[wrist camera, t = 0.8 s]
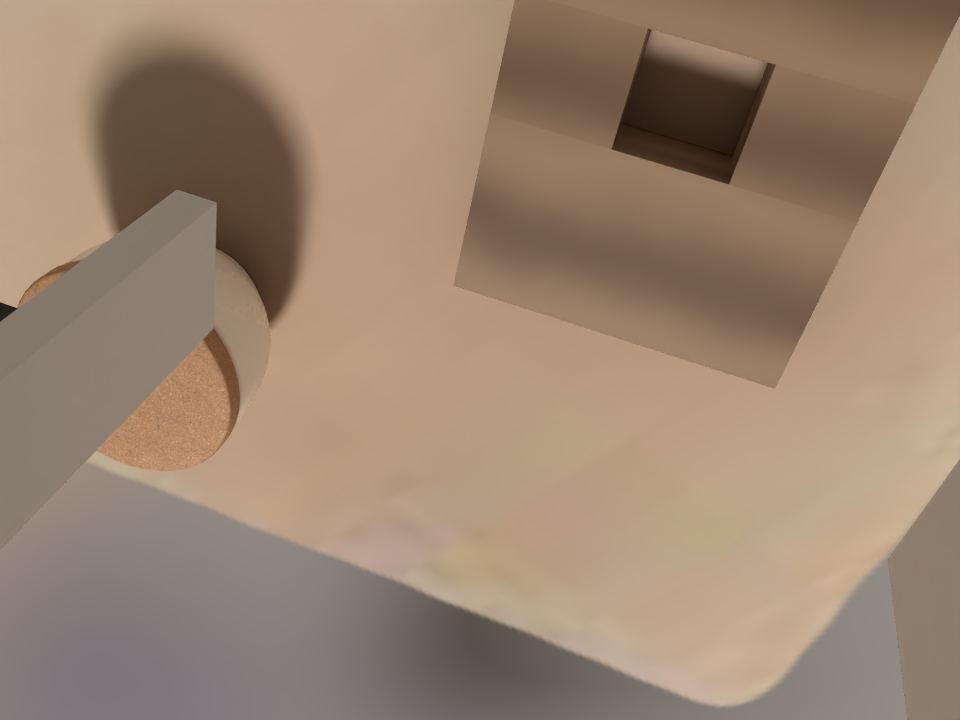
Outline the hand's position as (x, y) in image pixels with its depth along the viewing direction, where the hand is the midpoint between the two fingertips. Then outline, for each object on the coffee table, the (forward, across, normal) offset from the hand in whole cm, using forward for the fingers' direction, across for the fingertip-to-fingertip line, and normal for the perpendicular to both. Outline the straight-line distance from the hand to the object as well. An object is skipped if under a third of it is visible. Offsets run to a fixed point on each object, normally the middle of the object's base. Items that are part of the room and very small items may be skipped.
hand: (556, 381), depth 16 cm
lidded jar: (+23, -19, -19) cm, 35 cm away
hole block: (+23, +1, -2) cm, 23 cm away
